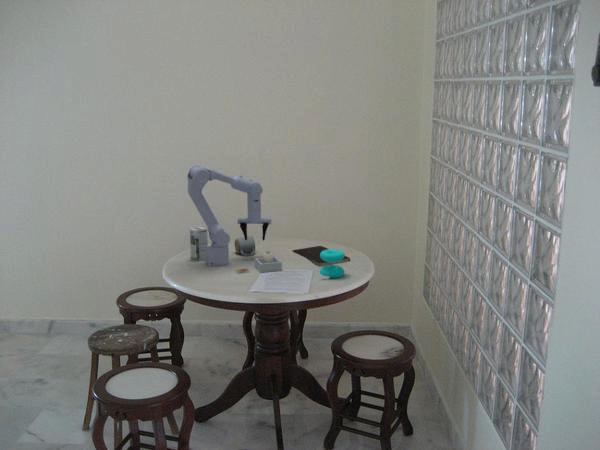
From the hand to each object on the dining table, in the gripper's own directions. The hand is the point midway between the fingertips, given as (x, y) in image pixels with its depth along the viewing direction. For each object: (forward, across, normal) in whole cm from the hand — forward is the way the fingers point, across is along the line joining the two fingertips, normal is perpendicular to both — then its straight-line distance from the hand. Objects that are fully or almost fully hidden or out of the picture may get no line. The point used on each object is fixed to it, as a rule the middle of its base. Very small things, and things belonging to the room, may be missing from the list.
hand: (254, 239), depth 289 cm
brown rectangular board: (+9, +3, -17) cm, 20 cm away
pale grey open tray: (+8, +8, -15) cm, 19 cm away
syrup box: (+10, -25, -1) cm, 27 cm away
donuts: (+10, +34, -19) cm, 40 cm away
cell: (+8, +8, -15) cm, 19 cm away
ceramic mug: (+10, -6, +11) cm, 16 cm away
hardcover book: (+10, +28, +6) cm, 31 cm away
